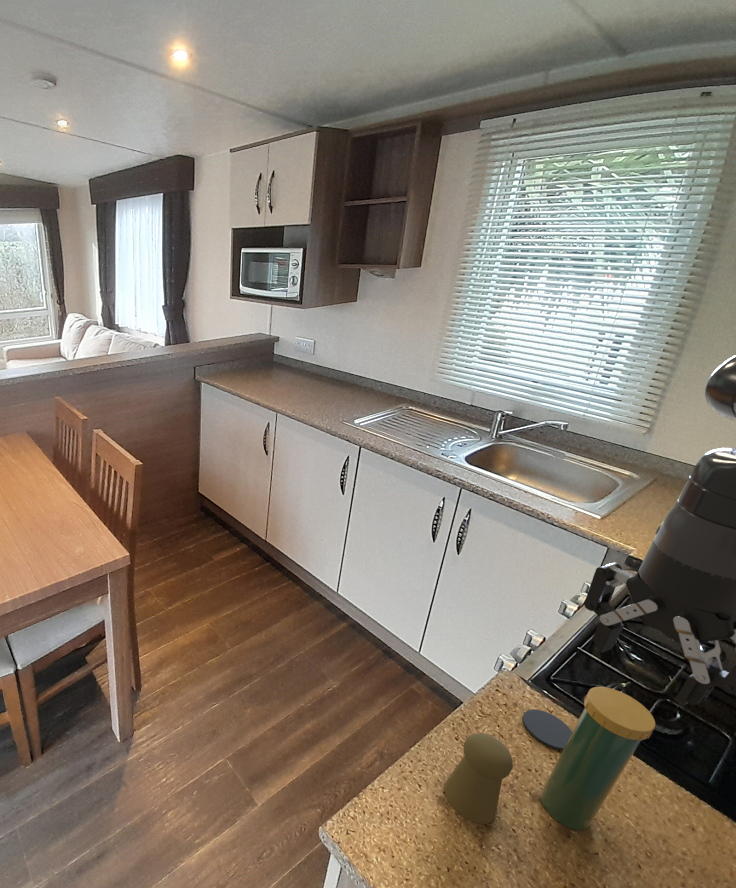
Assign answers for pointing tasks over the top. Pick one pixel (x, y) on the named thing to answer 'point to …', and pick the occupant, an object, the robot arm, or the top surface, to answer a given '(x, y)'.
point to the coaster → (546, 728)
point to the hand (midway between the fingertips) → (640, 672)
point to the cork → (479, 778)
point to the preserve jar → (585, 773)
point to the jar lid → (619, 713)
